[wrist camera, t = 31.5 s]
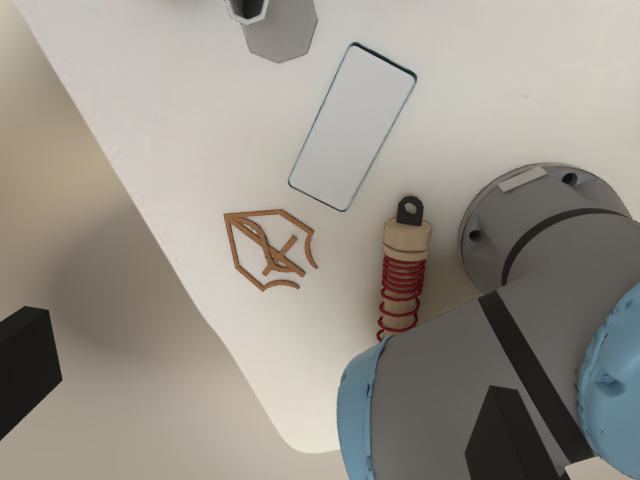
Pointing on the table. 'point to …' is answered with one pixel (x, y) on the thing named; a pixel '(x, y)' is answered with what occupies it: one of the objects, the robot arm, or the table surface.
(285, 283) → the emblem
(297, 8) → the flask
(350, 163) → the smartphone
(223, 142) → the table surface
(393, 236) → the shock absorber
